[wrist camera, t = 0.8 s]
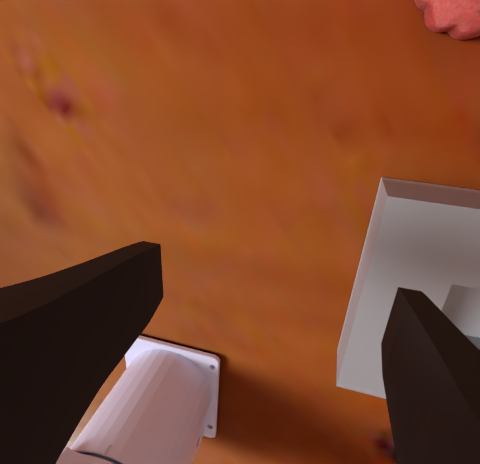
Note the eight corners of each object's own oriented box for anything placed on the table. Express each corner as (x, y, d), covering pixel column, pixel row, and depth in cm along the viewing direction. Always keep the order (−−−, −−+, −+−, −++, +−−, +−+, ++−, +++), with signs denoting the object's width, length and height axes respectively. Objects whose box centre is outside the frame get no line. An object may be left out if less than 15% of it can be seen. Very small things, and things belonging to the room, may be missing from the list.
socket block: (542, 398, 21) (570, 446, 18) (337, 349, 23) (336, 385, 21) (665, 214, 15) (731, 245, 13) (381, 177, 18) (387, 196, 15)
